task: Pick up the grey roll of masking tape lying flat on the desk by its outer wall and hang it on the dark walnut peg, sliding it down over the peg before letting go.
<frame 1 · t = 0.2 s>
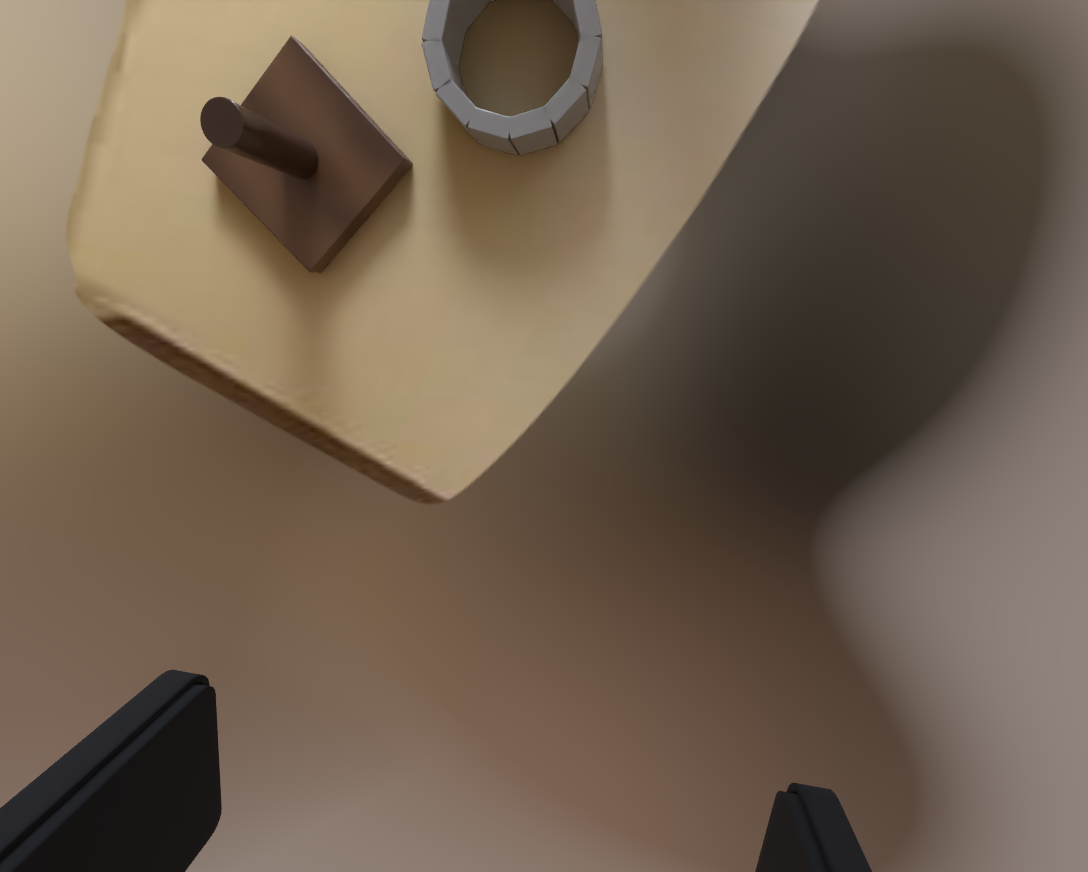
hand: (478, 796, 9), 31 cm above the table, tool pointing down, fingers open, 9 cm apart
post: (313, 164, 37), on the table
tape roll: (520, 65, 34), on the table
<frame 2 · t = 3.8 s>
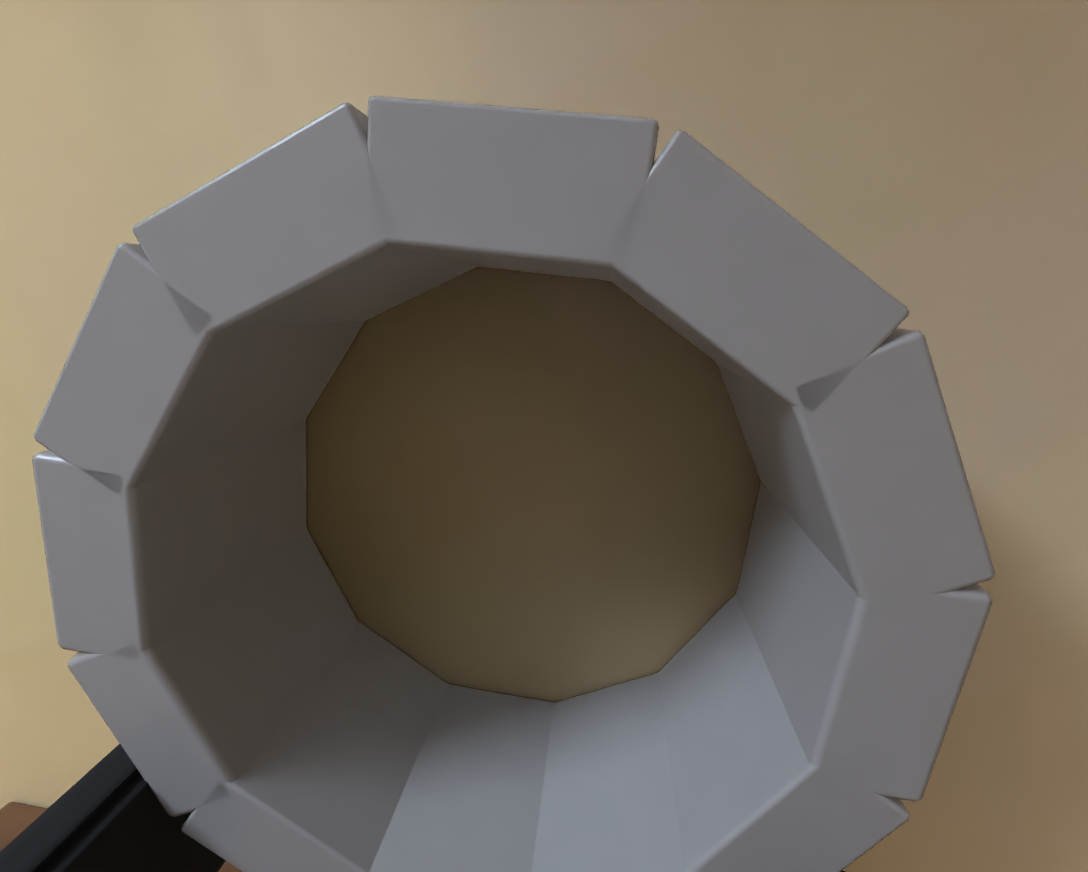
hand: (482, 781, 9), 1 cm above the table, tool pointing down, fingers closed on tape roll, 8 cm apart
tape roll: (520, 504, 9), on the table, touching gripper
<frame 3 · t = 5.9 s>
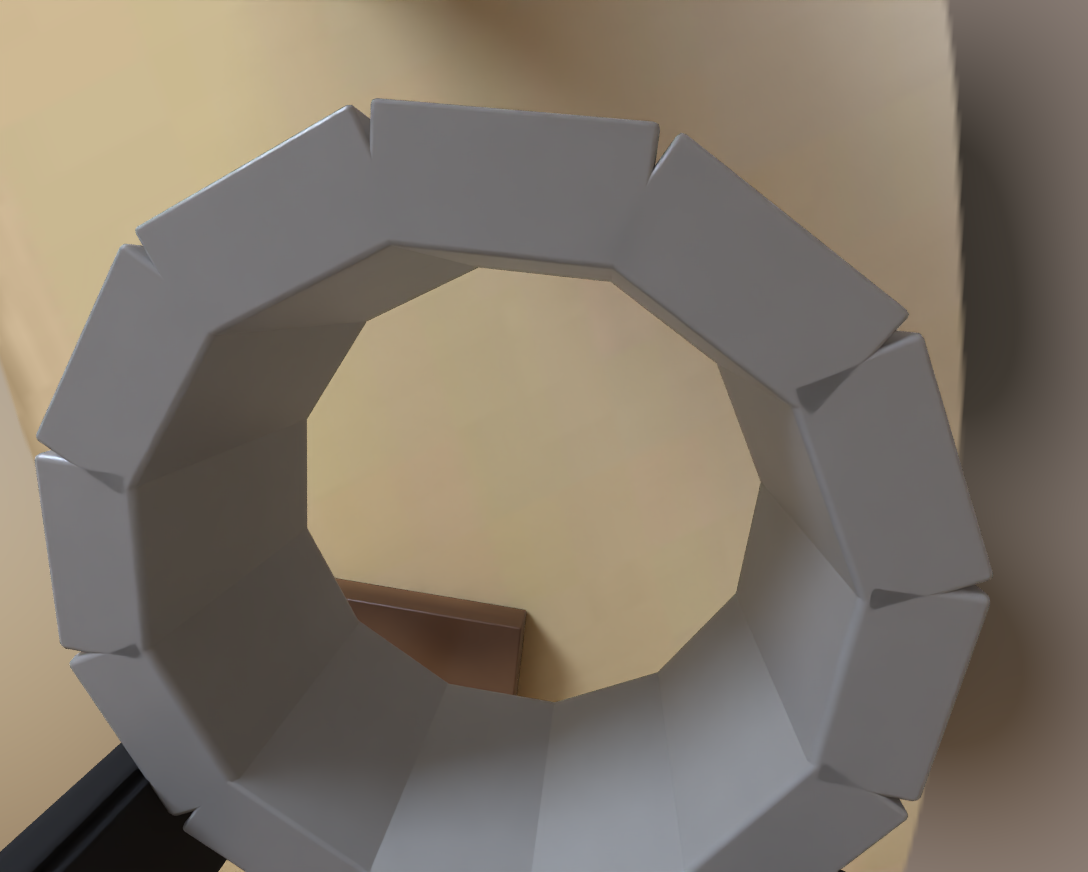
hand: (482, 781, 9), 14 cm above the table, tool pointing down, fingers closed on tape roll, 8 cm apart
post: (410, 687, 25), on the table
tape roll: (520, 504, 9), point 13 cm above the table, touching gripper
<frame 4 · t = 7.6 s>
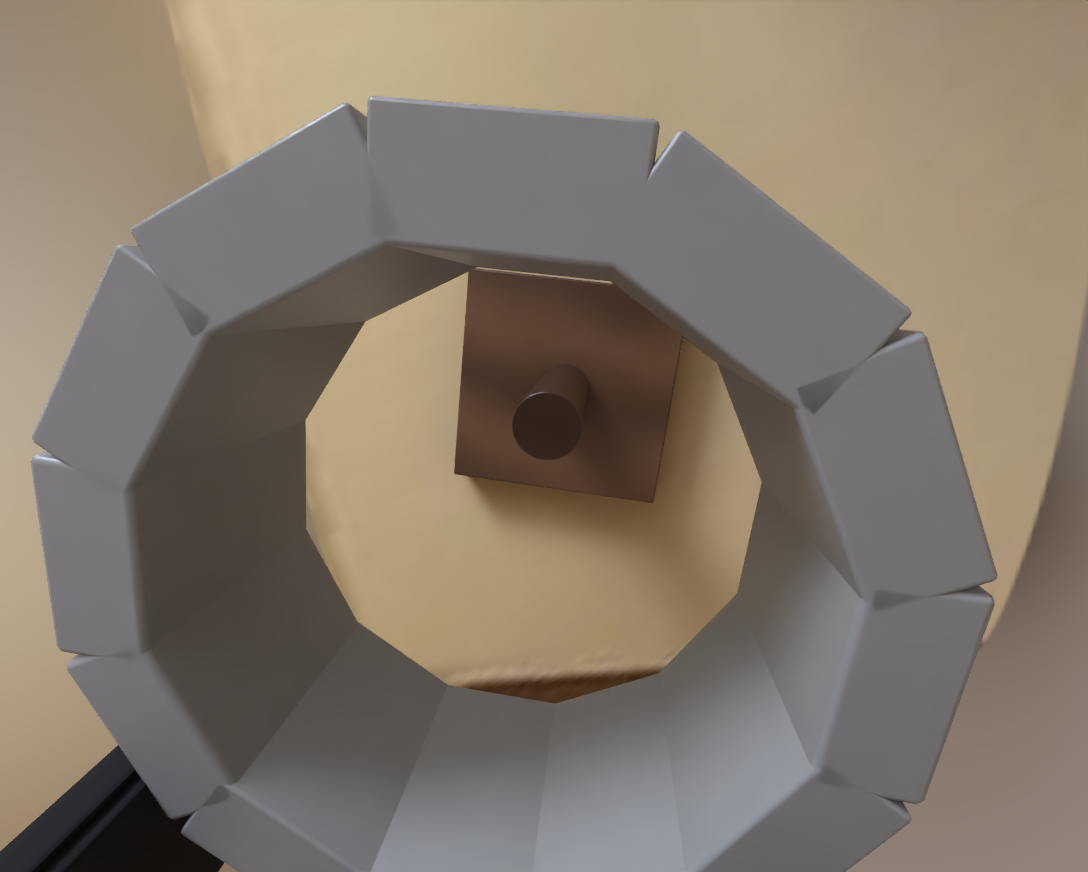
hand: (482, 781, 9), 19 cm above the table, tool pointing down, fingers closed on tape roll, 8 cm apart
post: (566, 384, 27), on the table
tape roll: (520, 505, 9), point 18 cm above the table, touching gripper
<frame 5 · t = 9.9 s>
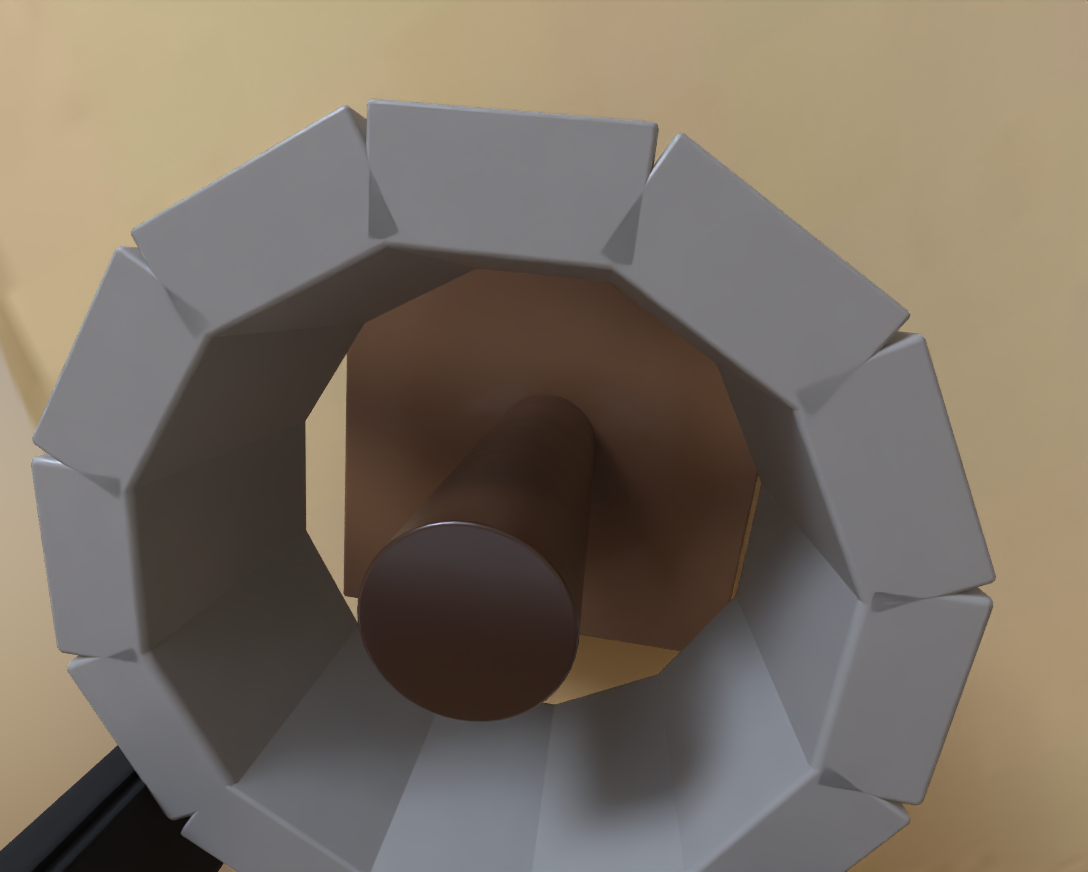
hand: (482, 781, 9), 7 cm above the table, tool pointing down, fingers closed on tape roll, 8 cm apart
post: (551, 429, 14), on the table
tape roll: (519, 506, 9), point 5 cm above the table, touching gripper
when the fingers open (3 cm above the table, at t = 11.8 s): tape roll stays where it is, resting on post.
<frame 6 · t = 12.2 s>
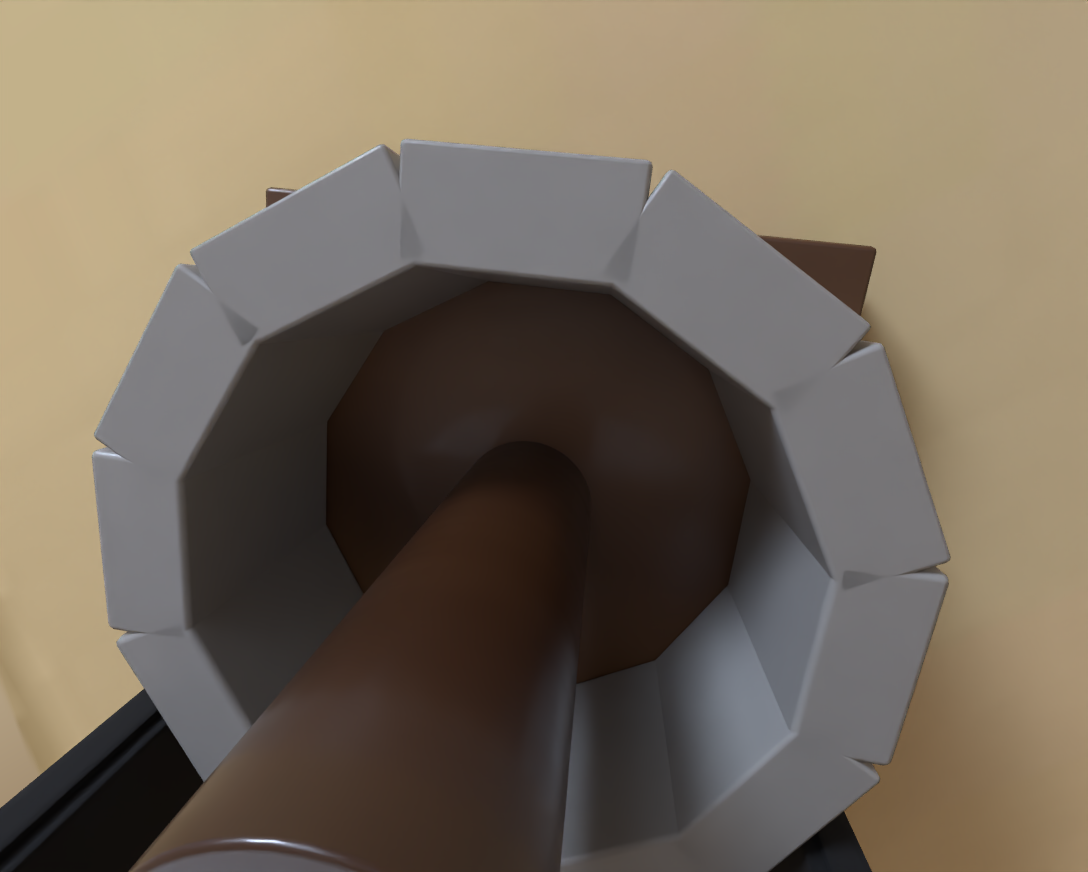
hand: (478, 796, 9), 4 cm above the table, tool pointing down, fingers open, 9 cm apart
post: (536, 479, 11), on the table
tape roll: (526, 501, 10), point 1 cm above the table, touching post
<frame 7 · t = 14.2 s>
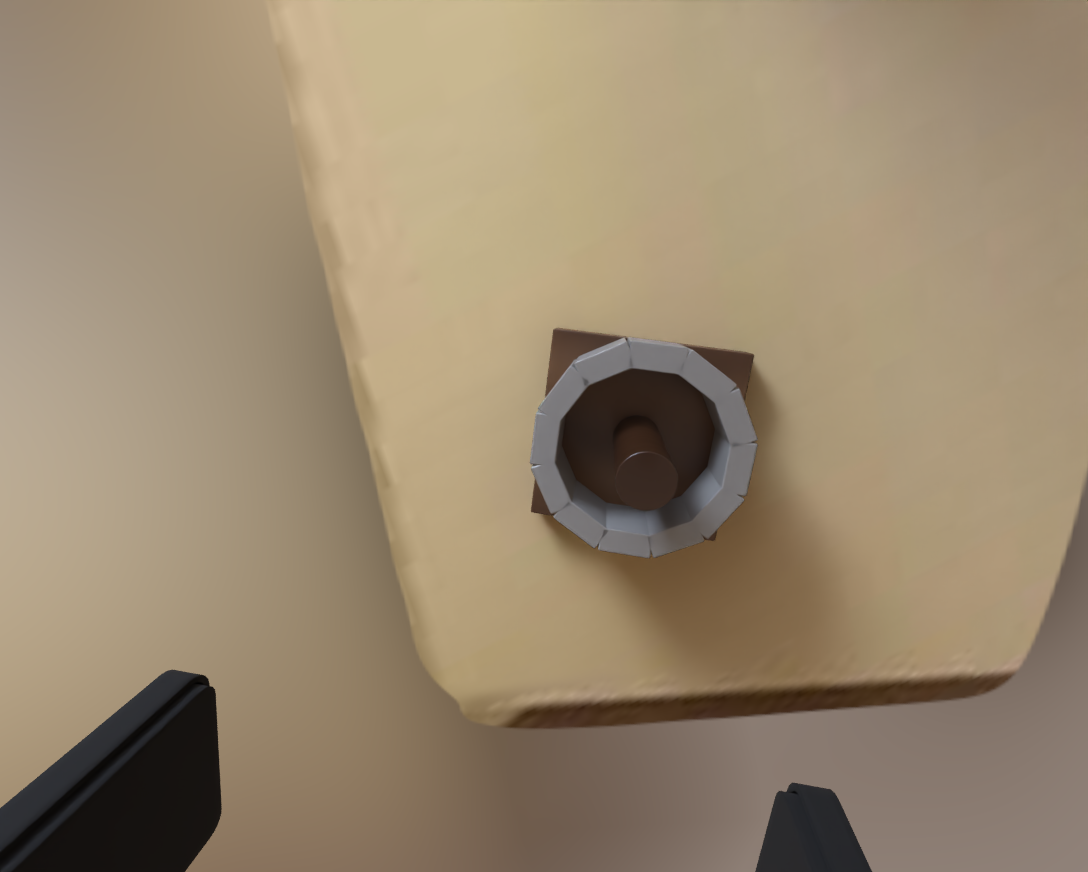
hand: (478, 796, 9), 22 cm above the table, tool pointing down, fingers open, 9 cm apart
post: (635, 431, 30), on the table
tape roll: (636, 436, 28), point 1 cm above the table, touching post
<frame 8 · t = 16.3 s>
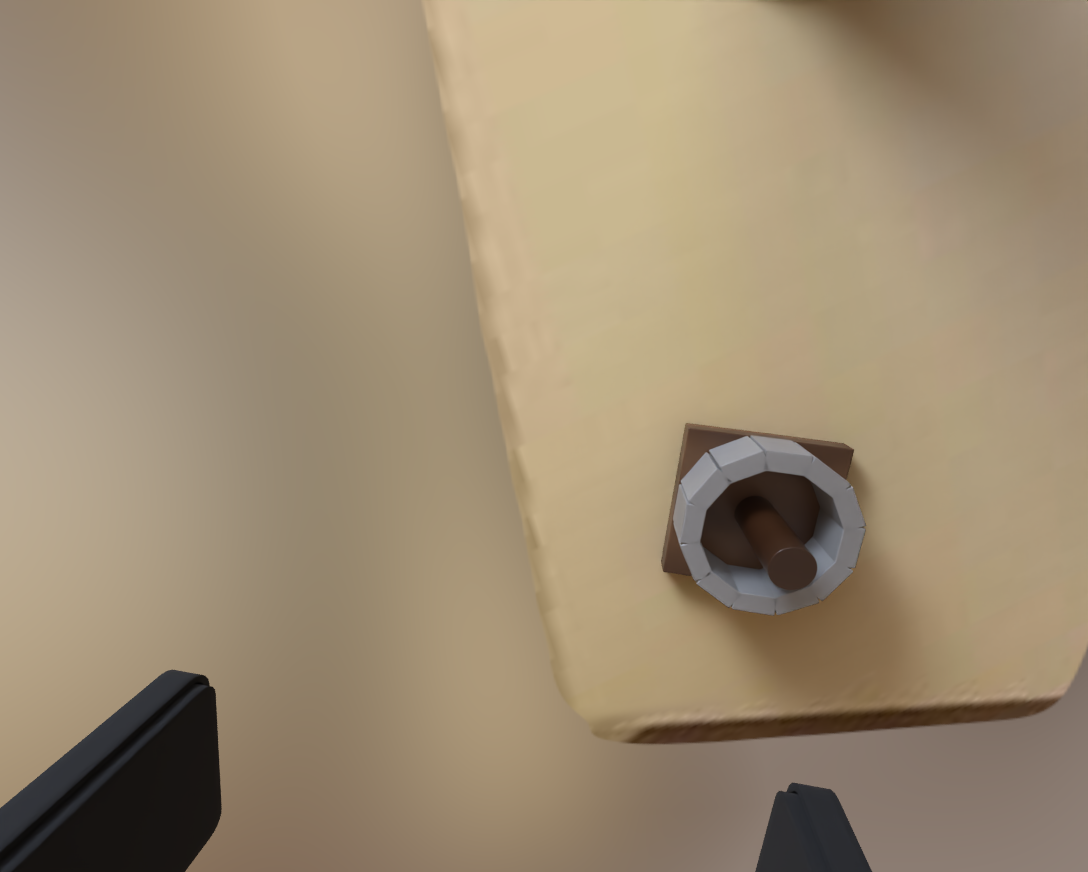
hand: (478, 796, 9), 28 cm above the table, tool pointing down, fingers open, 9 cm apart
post: (748, 505, 36), on the table
tape roll: (754, 512, 35), point 1 cm above the table, touching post
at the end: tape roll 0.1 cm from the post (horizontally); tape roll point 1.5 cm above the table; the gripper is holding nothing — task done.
